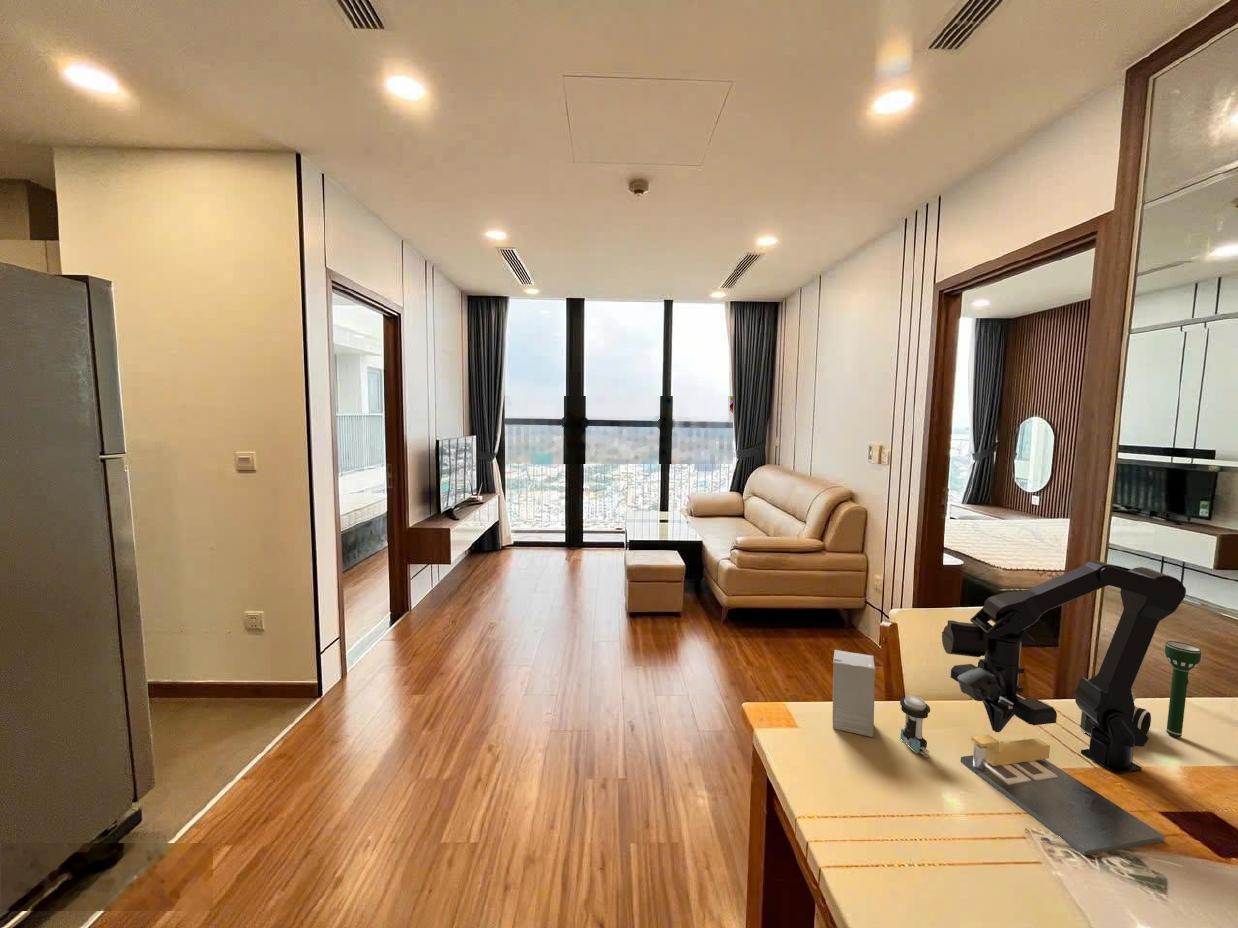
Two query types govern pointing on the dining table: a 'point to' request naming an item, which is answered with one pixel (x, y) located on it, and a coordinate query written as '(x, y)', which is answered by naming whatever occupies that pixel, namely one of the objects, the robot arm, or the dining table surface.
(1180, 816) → the dining table surface
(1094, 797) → the chassis plate
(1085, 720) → the camera
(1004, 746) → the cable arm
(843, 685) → the skincare box
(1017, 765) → the label tile
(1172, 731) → the flashlight
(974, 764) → the pivot post
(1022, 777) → the label tile
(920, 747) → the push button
